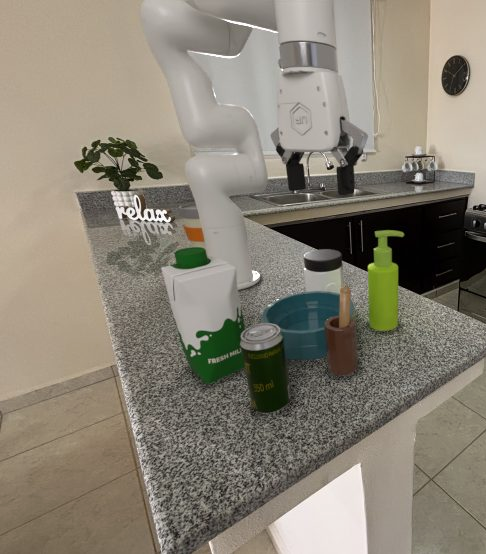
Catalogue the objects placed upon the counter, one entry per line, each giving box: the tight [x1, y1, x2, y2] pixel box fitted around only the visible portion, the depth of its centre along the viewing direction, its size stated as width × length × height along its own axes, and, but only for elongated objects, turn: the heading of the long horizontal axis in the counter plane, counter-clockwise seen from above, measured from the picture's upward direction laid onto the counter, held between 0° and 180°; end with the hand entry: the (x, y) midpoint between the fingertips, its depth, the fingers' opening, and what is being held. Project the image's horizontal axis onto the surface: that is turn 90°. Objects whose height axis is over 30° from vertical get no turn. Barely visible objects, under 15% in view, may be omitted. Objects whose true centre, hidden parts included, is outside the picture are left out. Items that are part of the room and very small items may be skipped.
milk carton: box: [160, 246, 246, 385], centre depth 54 cm, size 9×9×20 cm
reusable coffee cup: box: [178, 202, 208, 257], centre depth 111 cm, size 13×13×15 cm
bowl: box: [260, 291, 356, 361], centre depth 66 cm, size 17×17×6 cm
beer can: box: [240, 323, 292, 415], centre depth 49 cm, size 5×5×12 cm
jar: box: [303, 248, 345, 294], centre depth 79 cm, size 9×8×12 cm
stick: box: [339, 285, 352, 328], centre depth 55 cm, size 2×2×15 cm
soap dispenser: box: [367, 229, 405, 332], centre depth 68 cm, size 6×7×20 cm
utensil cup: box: [324, 316, 358, 377], centre depth 57 cm, size 5×5×9 cm
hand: (321, 191), depth 54 cm, fingers open, 9 cm apart
